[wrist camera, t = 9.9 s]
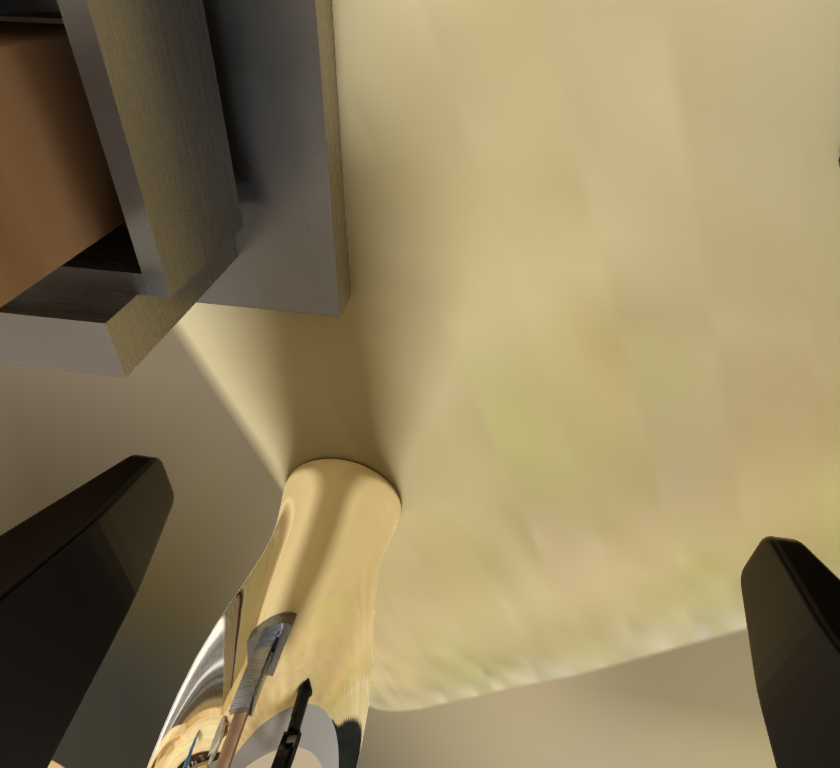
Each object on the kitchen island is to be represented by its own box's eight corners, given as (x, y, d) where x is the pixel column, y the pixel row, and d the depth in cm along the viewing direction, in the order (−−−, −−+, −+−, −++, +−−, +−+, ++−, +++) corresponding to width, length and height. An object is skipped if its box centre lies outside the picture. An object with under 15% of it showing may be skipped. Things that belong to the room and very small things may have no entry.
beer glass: (428, 535, 30) (364, 914, 18) (314, 546, 32) (191, 891, 20) (380, 441, 26) (261, 841, 14) (254, 461, 28) (62, 823, 17)
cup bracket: (323, -124, 14) (145, -183, 8) (349, 296, 22) (271, 451, 15) (-101, -130, 15) (-571, -185, 9) (61, 268, 23) (-129, 401, 16)
